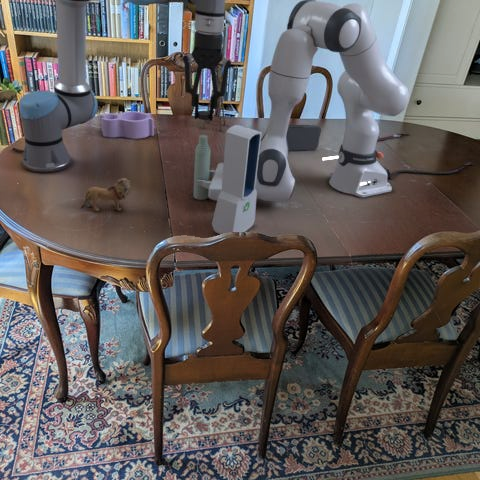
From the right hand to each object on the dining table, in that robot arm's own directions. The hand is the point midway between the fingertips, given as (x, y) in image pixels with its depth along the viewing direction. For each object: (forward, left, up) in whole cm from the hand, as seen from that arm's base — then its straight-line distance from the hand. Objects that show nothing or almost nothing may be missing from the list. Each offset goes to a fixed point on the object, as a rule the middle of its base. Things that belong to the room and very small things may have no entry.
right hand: (198, 177), depth 147 cm
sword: (-100, -40, -7) cm, 108 cm away
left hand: (-1, 0, +19) cm, 19 cm away
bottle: (-1, 0, -7) cm, 7 cm away
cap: (-1, 0, +20) cm, 21 cm away
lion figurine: (+28, +3, -7) cm, 29 cm away
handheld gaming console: (-48, -33, -7) cm, 59 cm away
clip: (+15, -57, -7) cm, 59 cm away
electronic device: (-5, +21, -7) cm, 23 cm away
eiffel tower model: (-23, -62, -7) cm, 66 cm away
